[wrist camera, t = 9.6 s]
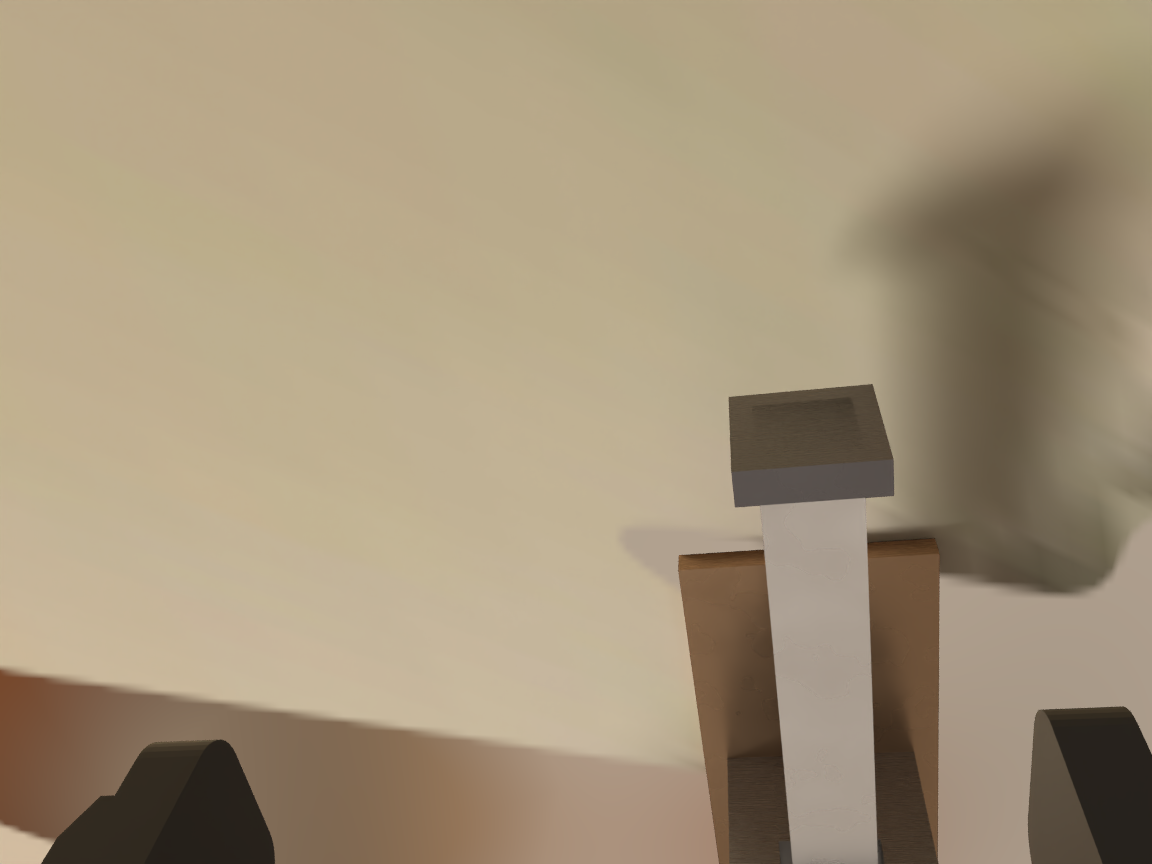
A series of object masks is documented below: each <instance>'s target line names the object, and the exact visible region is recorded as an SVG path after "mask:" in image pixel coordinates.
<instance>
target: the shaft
mask: <svg viewBox="0 0 1152 864" xmlns="http://www.w3.org/2000/svg"><path fill="white" fill-rule="evenodd" d="M729 418H730V446H731V473H732V482H733V492H734V501H735V507H747V506H760V510H761V521H762V532H763V543H764V554H765V565H766V576H767V587H768V598H769V609H770V620H771V631H772V642H773V653H774V664H775V675H776V686H777V697H778V708H779V719H780V730H781V741H782V752H783V763H784V774H785V785H786V796H787V807H788V818H789V829H790V840H791V851H792V862H793V864H878V853H877V823H876V793H875V763H874V733H873V703H872V673H871V644H870V614H869V584H868V554H867V524H866V498H871V497H885V496H894V464H893V456H892V452H891V449H890V445H889V442H888V438H887V435H886V431H885V427H884V424H883V420H882V417H881V413H880V410H879V406H878V402H877V399H876V395H875V392H874V388H873V385H872V384H870V385H858V386H847V387H836V388H825V389H814V390H803V391H791V392H780V393H769V394H758V395H747V396H736V397H729Z"/></svg>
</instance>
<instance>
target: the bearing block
mask: <svg viewBox="0 0 1152 864" xmlns="http://www.w3.org/2000/svg"><path fill="white" fill-rule="evenodd" d="M867 554H868V584H869V614H870V644H871V673H872V703H873V733H874V763H875V793H876V823H877V853H878V864H938V859H937V858H938V853H937V852H938V712H939V711H938V709H939V708H938V707H939V559H940V554H939V550H938V547H937V544H936V541H935V538H934V539H919V540H904V541H888V542H873V543H867ZM678 572H679V579H680V586H681V594H682V601H683V608H684V615H685V622H686V629H687V636H688V644H689V651H690V658H691V665H692V672H693V679H694V686H695V694H696V701H697V708H698V715H699V722H700V729H701V736H702V744H703V751H704V758H705V765H706V772H707V778H708V786H709V794H710V801H711V808H712V815H713V822H714V829H715V837H716V843H717V850H718V858H719V864H793V862H792V851H791V840H790V829H789V818H788V807H787V796H786V785H785V774H784V763H783V752H782V741H781V730H780V719H779V708H778V697H777V686H776V675H775V664H774V653H773V642H772V631H771V620H770V609H769V598H768V587H767V576H766V565H765V554H764V550H751V551H736V552H722V553H706V554H691V555H679V565H678Z"/></svg>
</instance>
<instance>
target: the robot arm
mask: <svg viewBox="0 0 1152 864" xmlns="http://www.w3.org/2000/svg"><path fill="white" fill-rule="evenodd" d="M1028 836H1029V847H1030V854H1031V861H1032V864H1152V754H1151V752H1150V750H1149V748H1148V745H1147V743H1146V741H1145V739H1144V737H1143V735H1142V732H1141V730H1140V728H1139V726H1138V724H1137V722H1136V720H1135V718H1134V716H1133V715H1132V713H1131V712H1130V711H1129V710H1128V709H1127V708H1126V707H1101V708H1077V709H1076V708H1075V709H1049V710H1039V711H1038V712H1037V714H1036V717H1035V723H1034V736H1033V751H1032V768H1031V782H1030V797H1029V813H1028ZM274 857H275V856H274V846H273V841H272V837H271V835H270V832H269V830H268V827H267V825H266V823H265V820H264V818H263V816H262V813H261V811H260V809H259V806H258V804H257V802H256V800H255V797H254V795H253V793H252V790H251V788H250V786H249V783H248V781H247V779H246V776H245V774H244V772H243V769H242V767H241V765H240V763H239V760H238V758H237V756H236V753H235V752H234V750H233V748H232V747H231V746H230V744H229V743H227V742H226V741H224V740H202V741H177V742H155V743H152V744H150V745H148V746H147V747H146V748H145V749H144V750H143V751H142V752H141V753H140V754H139V756H138V758H137V759H136V761H135V762H134V764H133V766H132V768H131V769H130V771H129V773H128V774H127V776H126V778H125V779H124V781H123V783H122V784H121V786H120V788H119V790H118V791H117V793H116V794H115V796H100V797H99V798H98V799H97V800H96V801H95V802H94V803H93V804H92V805H91V806H90V807H89V808H88V809H87V810H86V811H85V812H84V813H83V814H82V815H80V816H79V817H78V818H77V819H76V820H75V821H74V822H73V823H72V824H71V825H70V826H69V827H68V828H67V829H66V830H65V831H64V832H63V833H62V834H61V835H60V836H59V837H57V839H56V841H55V842H54V844H53V845H52V847H51V849H50V850H49V852H48V853H47V855H46V857H45V858H44V860H43V862H42V863H41V864H275V858H274Z"/></svg>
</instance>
